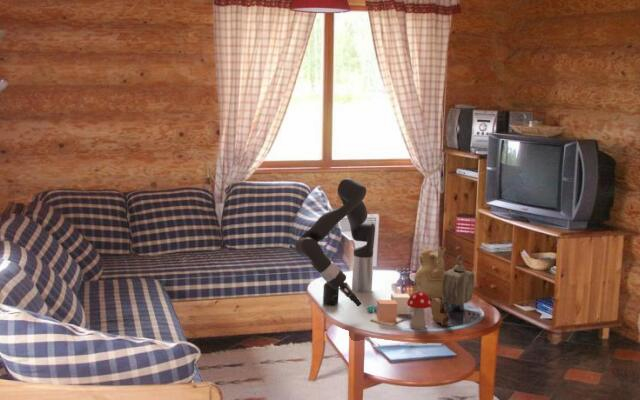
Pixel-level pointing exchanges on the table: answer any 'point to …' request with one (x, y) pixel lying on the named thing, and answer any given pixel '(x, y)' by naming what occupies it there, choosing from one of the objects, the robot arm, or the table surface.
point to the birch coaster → (387, 321)
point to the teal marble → (370, 308)
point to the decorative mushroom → (419, 309)
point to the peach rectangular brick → (386, 310)
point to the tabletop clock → (457, 285)
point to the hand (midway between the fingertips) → (357, 302)
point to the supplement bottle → (330, 295)
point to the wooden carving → (439, 311)
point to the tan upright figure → (431, 273)
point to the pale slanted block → (401, 303)
